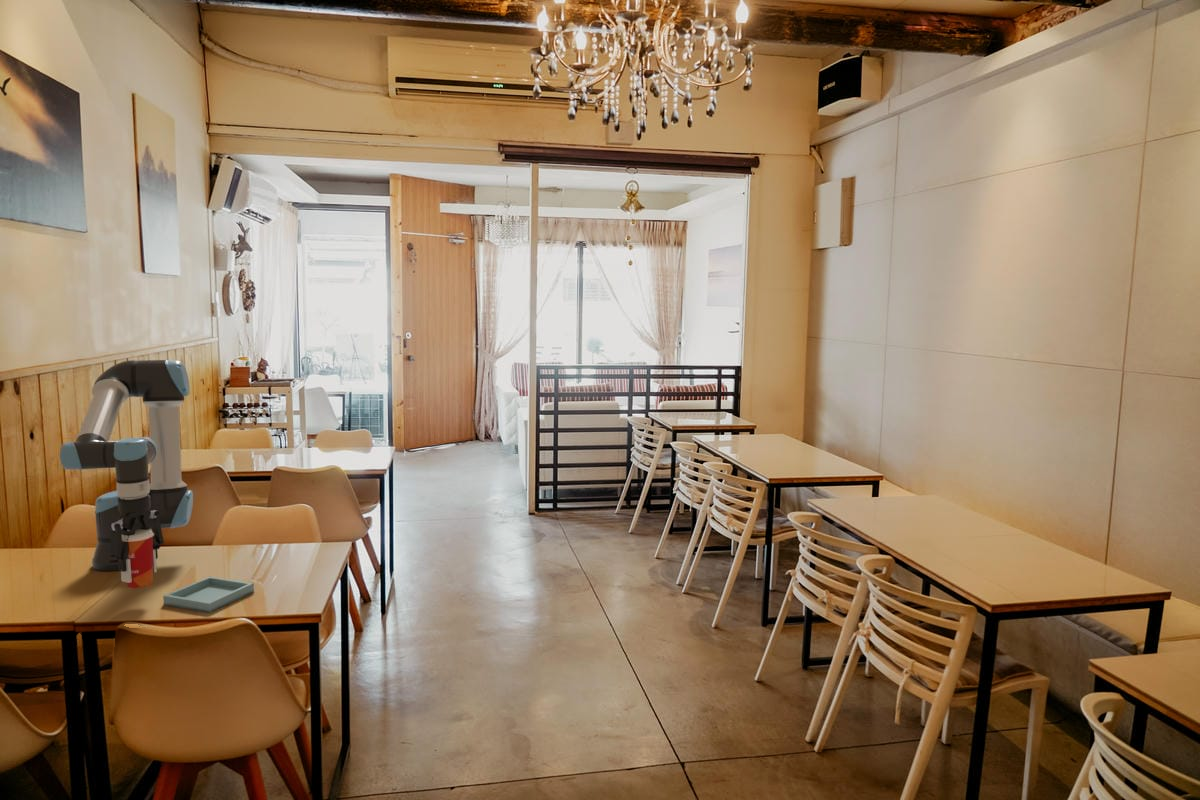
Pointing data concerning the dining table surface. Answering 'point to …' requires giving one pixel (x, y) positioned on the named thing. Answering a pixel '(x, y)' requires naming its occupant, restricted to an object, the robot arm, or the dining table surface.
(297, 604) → the dining table surface
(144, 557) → the coffee cup
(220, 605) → the tray
